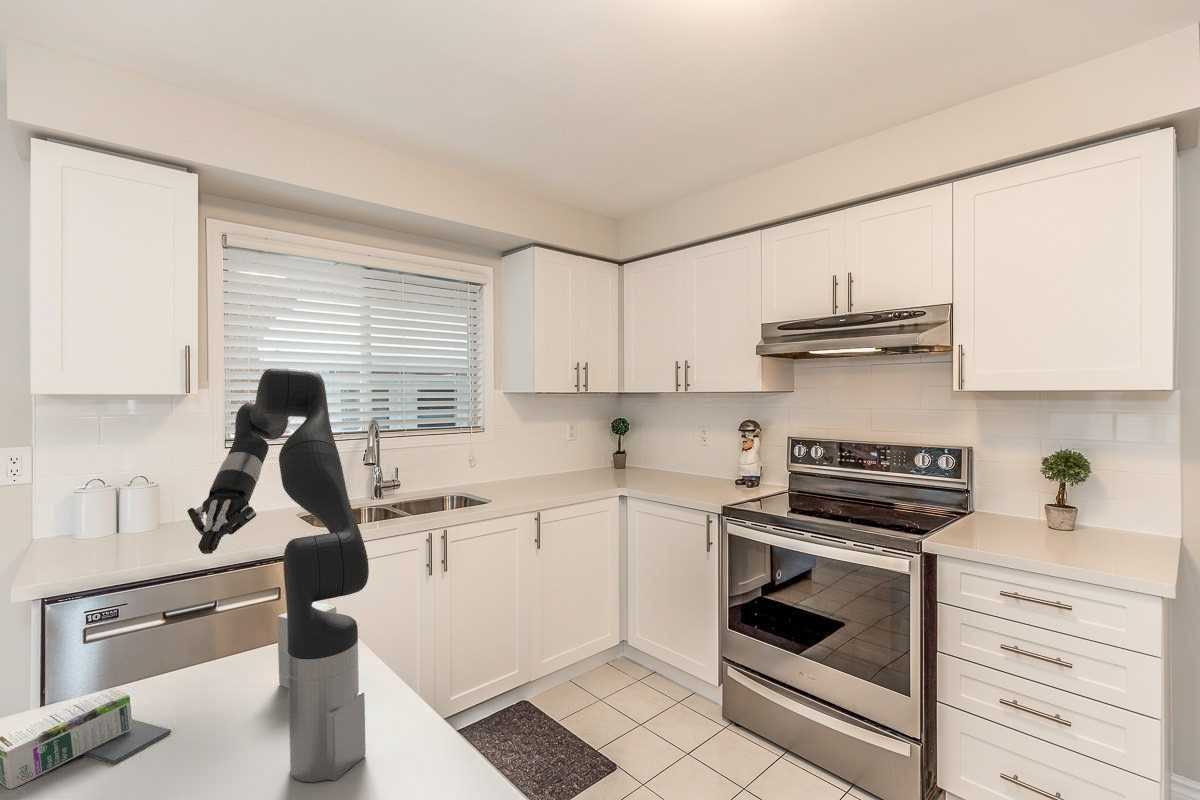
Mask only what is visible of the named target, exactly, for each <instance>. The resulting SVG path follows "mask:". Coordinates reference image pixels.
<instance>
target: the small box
mask: <svg viewBox="0 0 1200 800" xmlns="http://www.w3.org/2000/svg"><path fill="white" fill-rule="evenodd" d="M312 607H314V608H316V609H318V610H321V611H324V612H329V613H337V607H336V606H334V605H330V604H327V603H323V602H320V601H315V602H313V603H312ZM276 623H277V627H276V629H277V651H278V655H277V657H278V676H279V677H278V682H279V686H281V687H284V686H285V687H284V688H288V689H289V686H288V628H287V612H284V613H282V614H279V615H278V614H277V616H276Z"/></svg>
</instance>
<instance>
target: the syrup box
mask: <svg viewBox="0 0 1200 800" xmlns="http://www.w3.org/2000/svg"><path fill="white" fill-rule="evenodd" d="M132 714H133V713H132V705H131V696H130V695H129V694H127V693H125V692H123V691H120V690H118V689H116V688H115V687H111V688H108V689H107V690H104V691H102V692H100V693H97V694H95V695H93V696H90V697H88V698H86V699H83V700H81V701H79V702H77V703H74V704H72V705H69V706H67V707H65V708H62V709H60V710H58V711H56V712H54V713H52V714H48V715H47V716H45V717H42V718H40V719H37V720H35V721H33V722H31V723H29V724H27V725H24V726H21V727H19V728H17V729H14V730H13V731H10V732H8V733H6V734H3V735H1V736H0V784H1V785H2V786H3V787H6V788H7V789H9V790H14V789H15V788H18V787H19V786H21V785H24V784H26V783H28V782H30V781H32V780H34V779H35V778H38V777H40V776H42V775H43V774H46V773H48V772H49V771H51V770H54V769H55V768H57V767H59V766H62V765H64V764H65V763H67V762H70V761H71V760H73V759H75V758H78V757H79V756H82V755H83V753H85V752H87V751H89V750H91V749H93V748H95V747H97V746H99V745H101V744H103V743H105V742H107V741H109V740H111V739H113V738H115V737H118V736H120V735H122V734H124V733H126V732H128V731H130V730H132V729H133V728H134V726H133V723H132V719H133V715H132ZM13 788H14V789H13Z"/></svg>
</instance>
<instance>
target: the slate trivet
mask: <svg viewBox="0 0 1200 800" xmlns="http://www.w3.org/2000/svg"><path fill="white" fill-rule="evenodd" d="M132 723H133V726H134V728H133V729H132V730H130V731H128V732H126V733H124V734H122V735H120V736H118V737H115V738H113V739H111V740H109V741H107V742H105V743H103V744H101V745H99V746H97V747H95V748H93V749H91V750H89V751H87V752H85V753H83V754H82V755H83V756H87V757H90V758H92V759H97V760H100V761H102V762H105V763H108V764H112V765H116V764H118V763H120V762H121V761H123V760H126V758H129V757H130V756H133V755H134V754H135V753H137V752H139V751H141V750H143V749H145V748H147V747H148V745H149V746H151V745H152V744H155V743H156V742H158V741H160V740H161V739H163V738H165V737H167V736H168V735H171V734H172V732H171V731H172V730H171V728H165V727H162V726H158V725H155V724H152V723H151V724H150V723H147V722H144V721H140V720H136V719H133V718H132ZM170 733H171V734H170ZM150 744H151V745H150ZM146 746H147V747H146Z"/></svg>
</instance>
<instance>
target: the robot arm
mask: <svg viewBox="0 0 1200 800" xmlns="http://www.w3.org/2000/svg"><path fill="white" fill-rule="evenodd" d="M235 416H236V417H235V423H234V424H235V428H234V429H235V430H234V431H235V432H234V439H233V442H232V444H231V447H230V449H229V451H228V453H227V456H226V458H225V459H224V460H223V462H222V463H221V465H220V468H219V469H218V472H217V474H216V476H215V479H214V480H213V483H212V485H211V487H210V489H209V492H208V496H207V498H206V499H205V500H204V501H203V502H202V505H201V506H199V507H197V508H193V507H190V508H188V510H187V511H186V512H187V514H188V516H189V518H190V520H191V522H192V524H193V526H194V527H195V530H197V532H198V533H199V534H200V535H201V539H200V541H199V543H198V545H197V546H198V549H199V551H200V552H201V553H202V554H203V555H212V554H213V552H214V551H216V550H217V548H218V547H219V544H220V541H221V539H222V538H223V537H224V536H225V535H233V534H235V533H236V532H238V531H239V530H240V529H241V528H243V527H244V526H246V524H248V523H249V522H251V521H252V520H253V519H255V517H257V512H256V511H255V510H254V508H253V507H252V506H250V503H249V502H250V500H251V498H252V495H253V493H254V490H255V487H256V485H257V484H258V481H259V479H260V475H261V471H262V469H263V464H264V462H265V459H266V457H267V455H268V452H269V443H268V442H267V441H266V440H269V441H275V440H278V439H280V438H281V437H282V436H283V435H284V433H285V432H286V430H287V428H288V424H289V417H299V418H300V417H302V418H305V420H304V421H303V423H302V424H301V425H300V426H299V427H297V428H296V430H294V432H293V433H292V434H291V435H290V436H289V437H288V438H287V439H286V441H285V442H284V444H283V445H282V447H281V449H280V450H279V451H280V452H279V455H278V463H279V470H280V478H281V484H282V487H283V489H284V492H285V493H286V494H287V495H288V496H289V498H290V499H291V500H292V501H293V502H294V503H296V504H297V505H298V506H300V507H301V508H302V509H303V510H305V511H306V512H308V513H309V514H310V515H312V516H313V517H315V518H316V519H317V520H319V521H320V522H321V523H322V524H323V525H324V526H325V527H326V529H327V530H328V532H329V533H323V534H317V535H308V536H301V537H295V538H293V539H291V540H290V541H288V542H287V544H286V546H285V549H284V553H283V579H284V591H285V600H286V613H287V628H288V686H289V688H288V727H289V728H288V729H289V730H288V731H289V734H288V735H289V758H290V759H289V767H290V768H289V769H290V774H291V776H292V777H293V778H294V779H296V780H297V781H300V782H305V783H306V782H307V783H308V782H309V783H314V782H320V781H327V780H328V781H336V780H337V779H339V778H340V777H341V776H342V775H344V774H345V773H346V772H348V771H349V769H351V768H353V766H355V765H356V764H357V763H358V762H359V761H360V760H362V759H363V758H365V756H366V755H367V754H366V753H367V752H366V751H367V750H366V749H367V748H366V709H365V708H366V707H365V706H366V705H365V704H366V703H365V702H366V700H365V692H363V691H360V690H359V689H360V688H359V687H360V686H359V684H360V681H359V680H360V679H359V636H358V635H359V632H358V631H359V630H358V623H357V621H356V620H355V619H354V618H353V617H352V616H350V615H347V614H343V613H337V612H336V613H329V612H324V611H321V610H318V609H316V608H314V607H312V603H313V602H320V601H325V600H330V599H335V598H339V597H345V596H350V595H352V594H355V593H359V592H361V591H363V589H364V588H365V587H366V585H367V583H368V580H369V574H370V573H369V572H370V568H369V559H368V553H367V549H366V545H365V543H364V540H363V536H362V534H361V531H360V528H359V525H358V523H357V520H356V517H355V514H354V511H353V509H352V506H351V503H350V499H349V496H348V495H349V494H348V491H347V486H346V482H345V481H346V480H345V477H344V476H345V475H344V470H343V465H342V461H341V458H340V454H339V450H338V447H337V445H336V443H337V442H336V441H335V437H334V434H333V433H334V432H333V430H332V425H331V421H330V414H329V406H328V399H327V391H326V385H325V382H324V379H323V377H322V375H321V374H320V373H319V372H317V371H315V370H312V369H303V368H302V369H301V368H293V367H291V368H290V367H272V368H270V367H269V368H268V369H266V370H265V371H264V372H263V373H262V375H261V377H260V379H259V382H258V386H257V391H256V397H255V402H254V401H249V402H245V403H243V404H242V405H241V406H240V407H239V409H238V410H237V412H236V415H235ZM204 514H205V515H206V518H205V521H206V523H205V524H204V522H203V518H204Z"/></svg>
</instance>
